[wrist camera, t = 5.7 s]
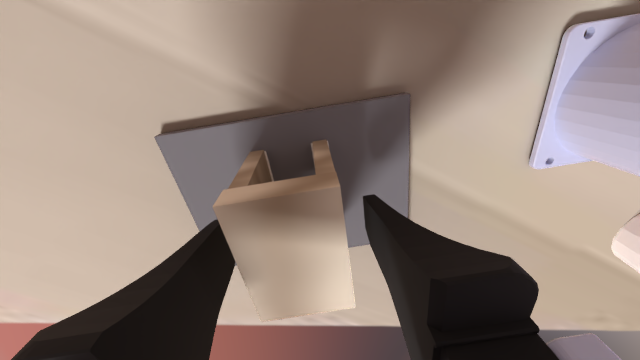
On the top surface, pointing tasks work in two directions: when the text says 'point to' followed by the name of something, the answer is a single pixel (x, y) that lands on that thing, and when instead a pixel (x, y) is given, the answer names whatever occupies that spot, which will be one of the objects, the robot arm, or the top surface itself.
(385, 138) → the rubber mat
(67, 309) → the top surface
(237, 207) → the two-pronged tan block
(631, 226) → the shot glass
